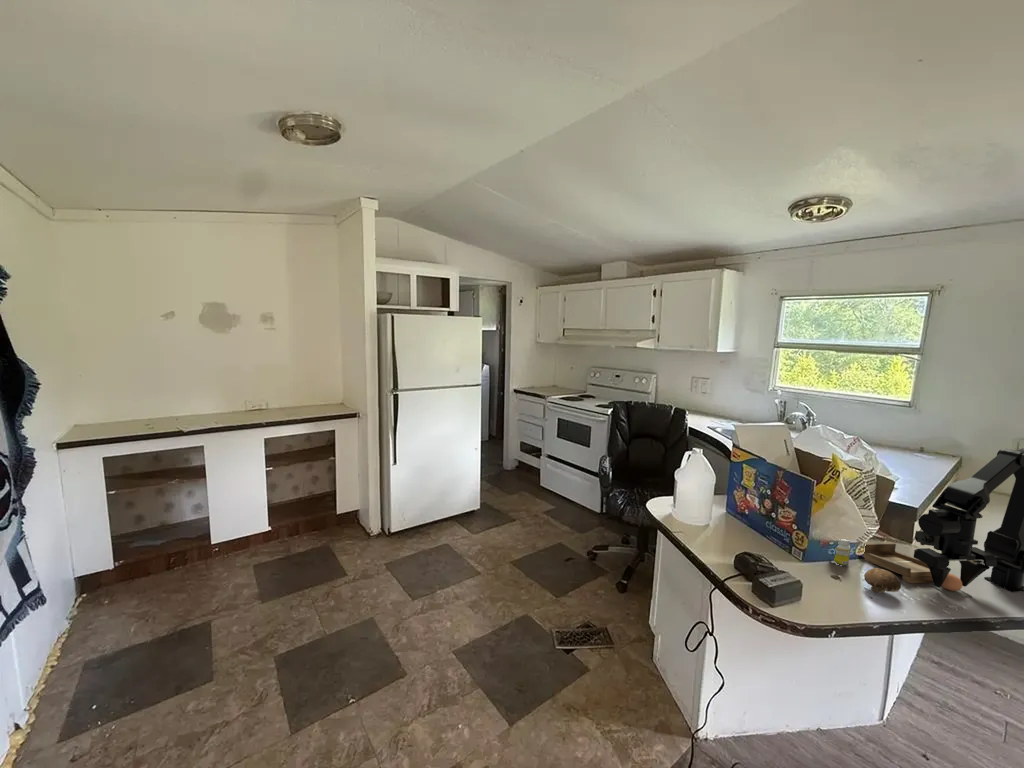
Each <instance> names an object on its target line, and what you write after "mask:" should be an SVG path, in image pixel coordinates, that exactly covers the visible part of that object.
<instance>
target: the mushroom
mask: <svg viewBox="0 0 1024 768" xmlns="http://www.w3.org/2000/svg"><path fill="white" fill-rule="evenodd" d="M863 577H864V578H863V579H864V581H865V582H866V583H867V584H868V585H869V586H871V587H870V589H871V590H872V591H874V593H875V592H876V593H878V594H884V593H885V592H888V593H889V592H890V593H891V592H892V593H894V592H895V593H897V592H898V591H900V590H901V588H902V581H901V580H900V578H899V577H898V576H897V575H895V574H894V573H893V572H891V571H890V570H888V569H885V568H879V567H874V568H871V569H868V570H867V571H865V573H863Z"/></svg>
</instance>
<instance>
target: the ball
mask: <svg viewBox="0 0 1024 768" xmlns="http://www.w3.org/2000/svg"><path fill="white" fill-rule="evenodd" d="M942 586H943V587H944V588H946V589H948V590H950V591H958V590H961V589H962V588H963V586H962V581H961V580H960V578H959V577H958V576H957V575H955V574H953V573H949V574H948V575H947V577H946V579H945V581H944V582H943V584H942Z"/></svg>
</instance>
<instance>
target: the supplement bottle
mask: <svg viewBox="0 0 1024 768" xmlns="http://www.w3.org/2000/svg"><path fill="white" fill-rule="evenodd" d="M850 541H851V540H846V539H841V540H840V539H839V542H838V544H839V545H838V546H837V548H836V555H835V558H834V561H835V562H836V563H837V564H839V565H842V566H848V567H849V563H850V555H851V554H850V553H851V545H850V544H851V543H850Z"/></svg>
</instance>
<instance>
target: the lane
mask: <svg viewBox="0 0 1024 768" xmlns="http://www.w3.org/2000/svg"><path fill="white" fill-rule="evenodd" d="M865 542H866V546H865V552H864V558H865V559H866V560H865V559H864V560H865V561H866V562H868V563H871V564H874V565H876V566H879V567H881V568H883V569H885V570H888V571H890V572H891V571H892V572H894V573H897V574H900V575H901V577H902V578H901V579H902V580H903V581H904V582H906V583H908V584H926V583H927V584H931V583H934V582H933V579H932V575H931V572H930V570H929V567H928V566H927V564H926V563H924V562H922V561H920V560H918V559H916V558H914V556H911V555H907V554H904V553H902V552H898V551H896V547H897V544H896V543H895V542H893V541H871V542H869V541H868V542H867V541H865Z"/></svg>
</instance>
